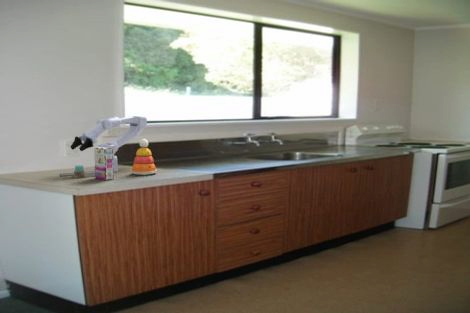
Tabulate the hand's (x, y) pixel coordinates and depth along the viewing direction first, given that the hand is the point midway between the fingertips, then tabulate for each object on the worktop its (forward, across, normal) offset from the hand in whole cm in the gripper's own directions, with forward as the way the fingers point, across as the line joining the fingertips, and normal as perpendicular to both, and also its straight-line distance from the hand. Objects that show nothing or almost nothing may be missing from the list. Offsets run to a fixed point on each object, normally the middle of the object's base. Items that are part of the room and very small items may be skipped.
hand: (75, 148), depth 262 cm
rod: (+5, +8, +14) cm, 17 cm away
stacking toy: (-14, +26, +25) cm, 39 cm away
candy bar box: (+6, +22, +12) cm, 26 cm away
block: (+9, +5, +11) cm, 15 cm away
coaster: (+8, -6, +12) cm, 16 cm away
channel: (+9, +5, +11) cm, 15 cm away
